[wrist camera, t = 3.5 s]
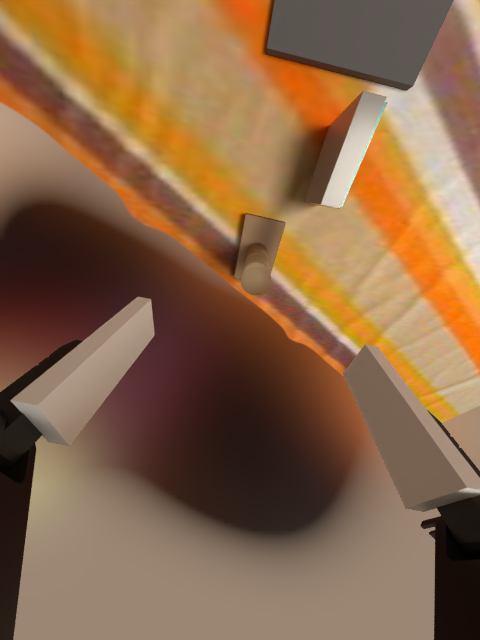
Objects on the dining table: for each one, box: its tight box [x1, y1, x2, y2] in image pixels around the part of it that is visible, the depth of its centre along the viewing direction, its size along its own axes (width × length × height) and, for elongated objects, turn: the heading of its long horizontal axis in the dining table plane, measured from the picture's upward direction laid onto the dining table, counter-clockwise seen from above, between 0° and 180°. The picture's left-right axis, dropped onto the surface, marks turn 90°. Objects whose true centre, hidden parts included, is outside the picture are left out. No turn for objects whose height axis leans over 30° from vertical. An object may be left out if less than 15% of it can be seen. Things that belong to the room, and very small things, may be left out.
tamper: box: [234, 213, 286, 295], centre depth 26 cm, size 6×10×14 cm, turn 169°
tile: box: [304, 91, 387, 209], centre depth 21 cm, size 2×8×9 cm, turn 169°
